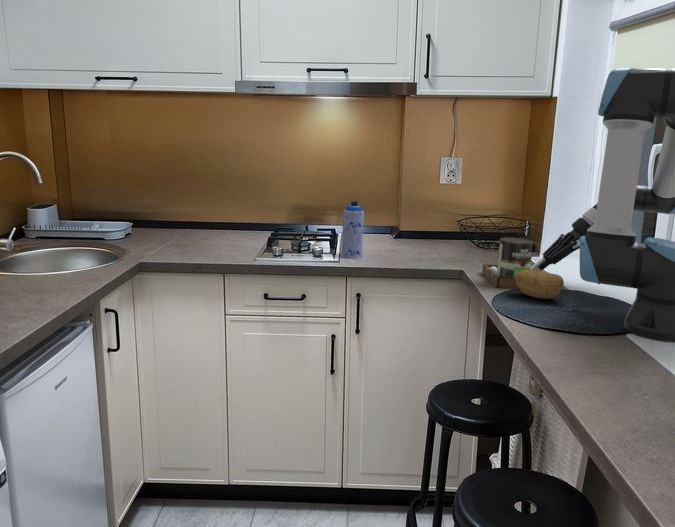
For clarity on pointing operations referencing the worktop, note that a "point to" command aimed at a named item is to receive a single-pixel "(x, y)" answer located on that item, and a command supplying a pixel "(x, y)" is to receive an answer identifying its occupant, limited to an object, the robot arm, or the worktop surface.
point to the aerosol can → (352, 231)
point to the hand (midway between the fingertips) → (530, 274)
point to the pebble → (494, 269)
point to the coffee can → (514, 256)
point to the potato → (539, 283)
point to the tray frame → (496, 280)
